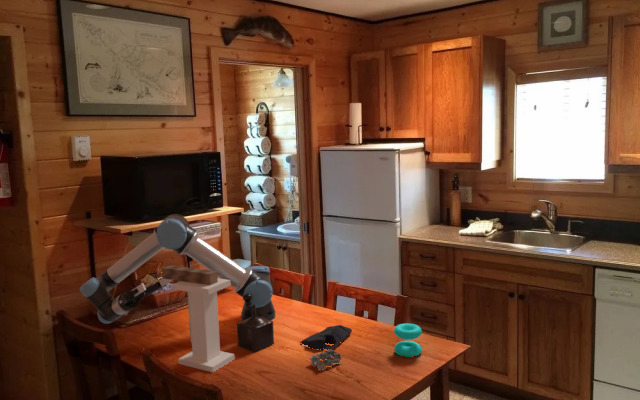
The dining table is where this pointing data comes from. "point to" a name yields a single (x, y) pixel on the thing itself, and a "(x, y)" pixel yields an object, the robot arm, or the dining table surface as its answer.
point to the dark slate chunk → (327, 337)
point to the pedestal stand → (204, 326)
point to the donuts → (408, 333)
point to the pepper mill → (254, 330)
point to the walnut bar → (190, 275)
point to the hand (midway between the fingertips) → (157, 281)
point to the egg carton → (326, 355)
